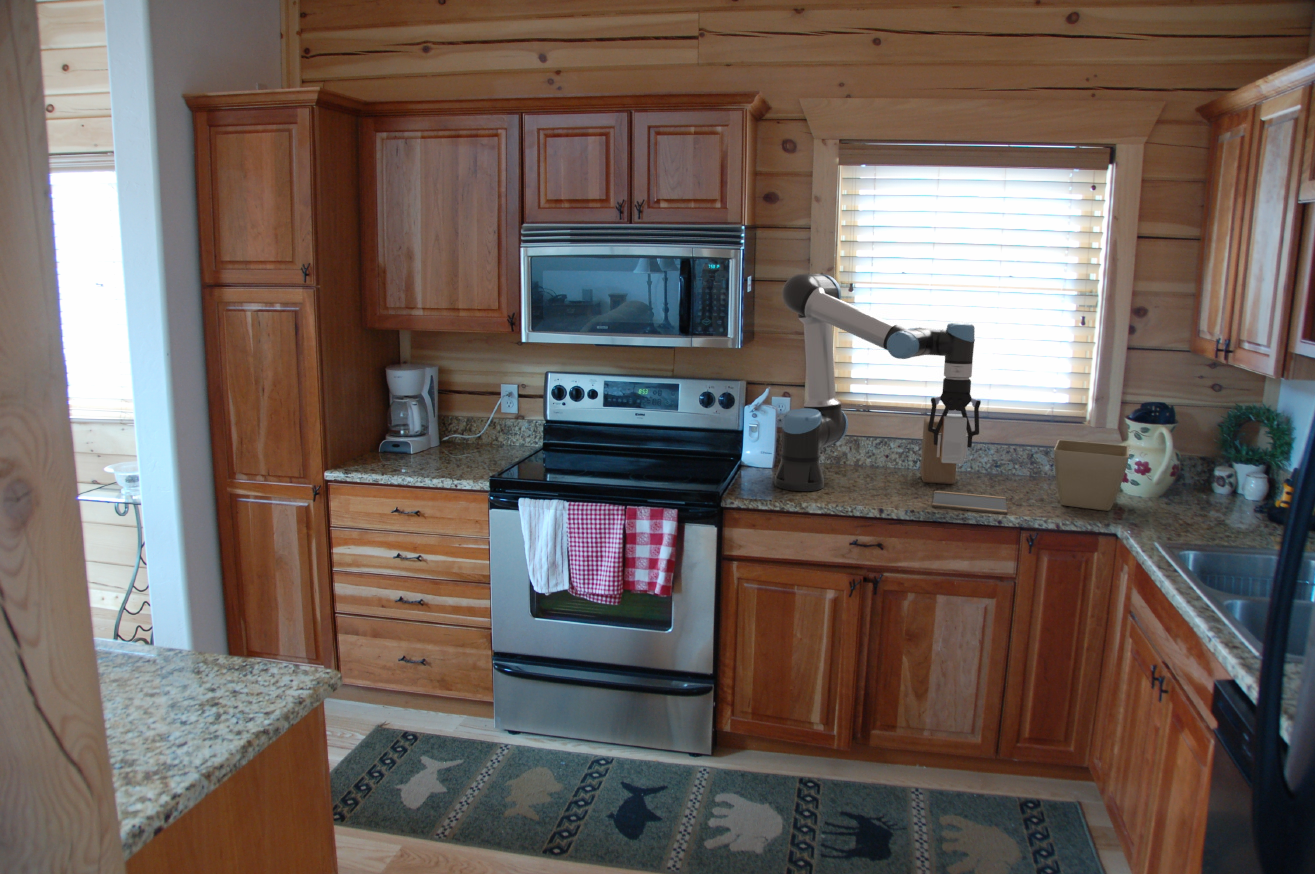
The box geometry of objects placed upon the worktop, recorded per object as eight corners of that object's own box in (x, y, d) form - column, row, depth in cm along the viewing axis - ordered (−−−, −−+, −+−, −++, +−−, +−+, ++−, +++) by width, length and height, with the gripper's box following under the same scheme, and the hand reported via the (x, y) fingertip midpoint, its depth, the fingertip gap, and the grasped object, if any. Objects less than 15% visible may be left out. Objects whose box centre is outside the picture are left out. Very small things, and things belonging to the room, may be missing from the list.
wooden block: (955, 485, 279) (960, 422, 275) (922, 483, 281) (926, 420, 277) (951, 477, 288) (956, 417, 285) (919, 475, 290) (924, 415, 287)
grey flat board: (931, 507, 253) (932, 503, 253) (934, 493, 268) (934, 490, 268) (1007, 514, 247) (1007, 511, 247) (1005, 500, 261) (1005, 497, 261)
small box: (938, 456, 261) (941, 413, 259) (961, 458, 260) (964, 414, 257) (940, 462, 254) (944, 417, 251) (964, 464, 252) (967, 418, 250)
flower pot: (1052, 492, 272) (1058, 438, 268) (1122, 500, 263) (1129, 444, 260) (1047, 507, 255) (1053, 449, 252) (1122, 516, 246) (1129, 457, 243)
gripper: (920, 377, 252) (915, 457, 256) (994, 381, 246) (987, 462, 250) (922, 374, 259) (917, 452, 263) (993, 378, 252) (987, 457, 257)
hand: (951, 457), depth 257 cm, fingers closed on small box, 7 cm apart
